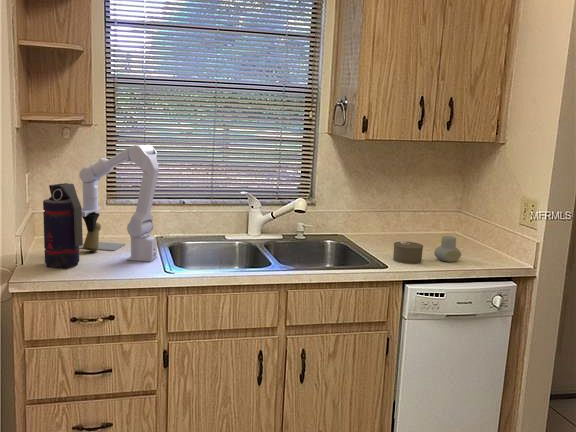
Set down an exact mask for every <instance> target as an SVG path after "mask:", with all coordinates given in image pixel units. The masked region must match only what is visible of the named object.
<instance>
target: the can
mask: <svg viewBox="0 0 576 432" xmlns="http://www.w3.org/2000/svg"><path fill="white" fill-rule="evenodd" d="M423 248H424V245H423V244H422V243H419V242H412V241H395V242H394V243H393V257H392V261H394V262H397V263H399V264H406V265H418V264H419V265H420V264H421V263H422V258H423Z"/></svg>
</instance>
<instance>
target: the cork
mask: <svg viewBox="0 0 576 432" xmlns="http://www.w3.org/2000/svg"><path fill="white" fill-rule="evenodd" d="M101 228H102V226H101V224H100V222H97V221H96V225H95V229H94V232H88V231H87V234H86V236H85V240H84V241H83V244H84V245H83V249H82V250H85V251H89V252H97V251H99V250H98V242H100V241H99V232H100V231H101Z"/></svg>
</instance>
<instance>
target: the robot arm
mask: <svg viewBox="0 0 576 432" xmlns="http://www.w3.org/2000/svg"><path fill="white" fill-rule="evenodd" d="M157 156H158V152H157V150H156V149H155V148H154V146H152V145H151V144H148V143H147V144H141V145H136V144H135V145H134V144H133V145H132V146H129V147H127V148H125V149H123V150H122V151H120V152H119V153H118V154H115V155H114V156H112V157H111V158H109V159H108V158H106V157H105V158H103V157H102V158H99V159H98V161H97V162H95V163H91V164H90V165H89V167H83V168H82V169H80V171H79V174H78V176H79V179H80V181H81V182H82V207H81V208H82V220H84V223H85V226H86V230H87V233H88V232H94V229H95V225H96V222H97V221H98V219H99V217H100V213H99V212H100V211H101V206H100V205H99V182H100V179H101V178H103V177H105V176H106V175H108V174H110V173H112V172H113V170H114V167H116V166H118V165H120V164H123V163H125V162H126V161H131V162H132V163H134V164H135V165H136V166H138V167H139V168H140V169H141V171H142V179H141V181H140V182H141V183H140V186H139V187H140V188H139V194H138V198H137V204H136V209H135V212H134V213H133V215H132V216H131V217H130V221H129V222H128V223H127V227H126V230H127V233H128V234H129V237H130V256H129V257H128V258H127V261H138V262H139V261H140V262H152V261H154V260H155V259H156V258H158V256H157V252H158V251H157V249H158V248H157V243H158V242H157V241H158V240H157V237H154V236H151V232H153V230H154V221H153V220H154V216H153V215H152V214H151V211H152V206H153V201H154V196H155V191H156V186H157V181H158V178H159V170H160V168H159V163H158V158H157Z"/></svg>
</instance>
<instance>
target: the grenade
mask: <svg viewBox="0 0 576 432" xmlns="http://www.w3.org/2000/svg"><path fill="white" fill-rule="evenodd" d="M48 187H49V192H50V197H49V198H47V199H44V200H42V208H43V211H42V212H43V244H44V246H43V247H44V249H45V250H44V264H45V266H46V268H49V267H58V268H59V269H60V270H67V269H68V267H70V266H74V265H76V266H77V265H78V264H79V263H80V249H79V246H81V245H83V244H84V240H83V238H84V237H83V217H82V208H83V207H82V205H81V201H80V199H79V196H78V194H77V190H76V187H75V184H74V183H69V182H64V183H57V184H49V185H48Z"/></svg>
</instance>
